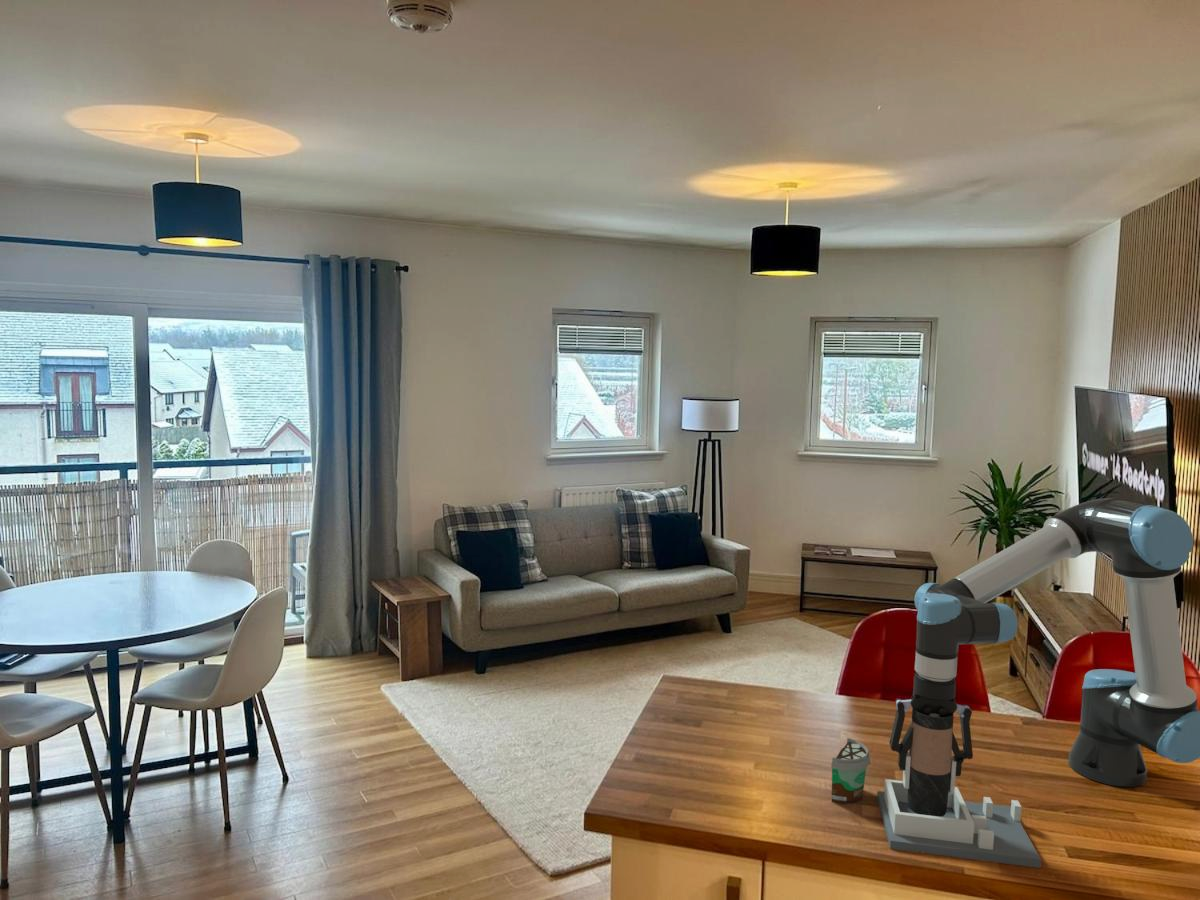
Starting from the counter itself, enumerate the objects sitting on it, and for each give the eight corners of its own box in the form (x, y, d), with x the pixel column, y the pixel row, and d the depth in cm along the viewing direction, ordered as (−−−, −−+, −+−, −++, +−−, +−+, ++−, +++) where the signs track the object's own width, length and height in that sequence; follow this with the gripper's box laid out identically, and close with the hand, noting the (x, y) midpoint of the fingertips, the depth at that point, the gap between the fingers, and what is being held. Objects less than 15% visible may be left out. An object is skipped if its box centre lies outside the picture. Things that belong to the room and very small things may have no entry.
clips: (1016, 815, 165) (1017, 800, 164) (1040, 855, 151) (1041, 840, 150) (961, 808, 167) (962, 794, 167) (979, 848, 153) (980, 832, 152)
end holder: (956, 805, 168) (957, 787, 167) (972, 843, 154) (974, 823, 154) (884, 797, 170) (885, 778, 170) (894, 834, 157) (895, 814, 156)
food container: (859, 814, 167) (862, 766, 166) (829, 805, 170) (831, 758, 169) (874, 788, 177) (877, 744, 176) (846, 780, 181) (848, 736, 180)
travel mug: (951, 821, 158) (958, 719, 156) (909, 815, 159) (915, 715, 157) (943, 800, 165) (949, 704, 163) (903, 796, 167) (908, 700, 165)
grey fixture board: (1010, 814, 168) (1011, 806, 168) (1040, 868, 150) (1041, 859, 149) (877, 798, 173) (877, 791, 173) (890, 848, 155) (890, 840, 155)
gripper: (986, 673, 161) (979, 785, 163) (877, 663, 165) (871, 772, 167) (997, 687, 154) (989, 804, 156) (882, 676, 158) (875, 790, 160)
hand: (928, 787), depth 162 cm, fingers closed on travel mug, 8 cm apart
